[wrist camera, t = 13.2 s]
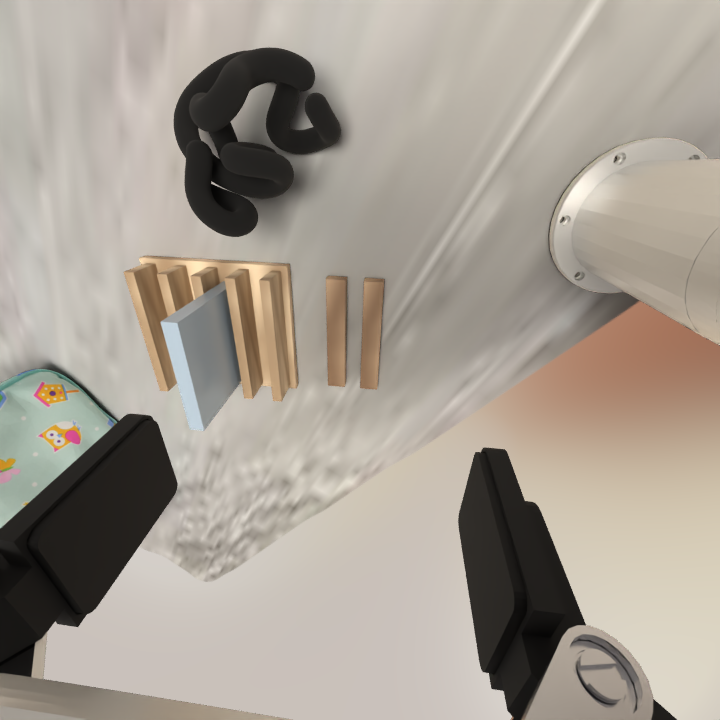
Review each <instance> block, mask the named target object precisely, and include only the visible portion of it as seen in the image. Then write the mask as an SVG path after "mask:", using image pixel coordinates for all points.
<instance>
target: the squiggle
mask: <svg viewBox="0 0 720 720" xmlns="http://www.w3.org/2000/svg"><path fill="white" fill-rule="evenodd" d="M314 81H315V73H314V69H313V67H312V65H311V64H310V63H309V62H308V61H307V60H306V59H304V58H303V57H301V56H299V55H297V54H295V53H293V52H291V51H288V50H284V49H279V48H260V49H255V50H249V51H241V52H237V53H233V54H230V55H227V56H225V57H223V58H221V59H219V60H217V61H216V62H214V63H213V64H211V65H210V66H208V67H207V68H206V69H204V70H203V71H202V72H201V73H200V74H199V75H197V76H196V77H195V78H194V79H193V80H192V81H191V82H190V84H189V85H188V86H187V87H186V88H185V90H184V91H183V93H182V94H181V96H180V98H179V100H178V103H177V105H176V108H175V113H174V131H175V136H176V140H177V143H178V145H179V147H180V149H181V151H182V153H183V155H184V156H185V157H186V167H185V191H186V196H187V199H188V202H189V204H190V206H191V208H192V210H193V211H194V213H195V214H196V216H197V217H198V218H199V219H200V220H201V221H202V222H203V223H204V224H205V225H207V226H208V227H209V228H211V229H212V230H214V231H216V232H218V233H220V234H223V235H226V236H231V237H239V236H243V235H246V234H248V233H250V232H251V231H252V230H253V229H254V228H255V226H256V225H257V222H258V213H257V210H256V208H255V206H254V205H253V204H252V203H251V202H250V201H249V200H248V199H246V198H244V197H243V196H246V197H251V198H260V199H264V198H272V197H276V196H278V195H281V194H282V193H284V192H285V191H286V190H287V189H288V188H289V187H290V186H291V184H292V182H293V178H294V171H293V168H292V165H291V164H290V162H289V161H288V160H287V159H286V158H284V157H283V156H281V155H279V154H277V153H276V152H275V151H274V150H273V149H271V148H270V147H267V146H264V145H260V144H255V143H247V142H238V140H237V137H236V135H235V132H234V130H233V127H232V125H231V123H230V122H231V121H232V119H233V118H234V117H235V116H236V115H237V113H238V112H239V111H240V109H241V108H242V106H243V104H244V102H245V100H246V98H247V95H248V93H249V91H250V90H251V89H253V88H254V87H256V86H258V85H261V84H263V83H267V82H275V83H276V84H277V86H276V90H275V93H274V96H273V98H272V101H271V104H270V107H269V110H268V113H267V118H266V129H267V133H268V136H269V138H270V140H271V141H272V142H273V143H274V144H275V145H276V146H277V147H278V148H280V149H282V150H284V151H286V152H290V153H295V154H306V153H312V152H316V151H319V150H322V149H324V148H327V147H329V146H331V145H333V144H334V143H336V142H337V141H338V139H339V137H340V134H341V128H340V124H339V122H338V120H337V118H336V117H335V115H334V113H333V111H332V110H331V108H330V106H329V104H328V102H327V100H326V98H325V97H324V96H323V95H322V94H319V93H312V94H311V95H309V96H308V97H307V99H306V102H305V112H306V114H307V116H308V118H309V120H310V121H311V123H312V125H313V126H314V127H312V128H309V129H306V130H293V129H290V128H288V127H289V123H290V121H291V118H292V115H293V113H294V110H295V108H296V105H297V102H298V98H299V93H300V91H307V90H309V89H310V88H311V87H312V86H313V84H314ZM198 127H199V128H200V129H202V130H204V131H207V132H209V134H210V136H211V138H212V140H213V142H214V144H215V147H216V149H217V152H218V155H219V158H217V157H216V156H215V155H213V154H212V151H211V149H210V148H209V146H208V145H207V144H206V143H204V142H203V141H201V139H200V136H199V131H198ZM211 181H212V182H214V183H216V184H217V185H219V186H221V187H223V188H225V189H227V190H229V191H227V190H224V189H222V188H219V187H217V186H215V185H212V184H211ZM230 191H232V192H230ZM233 192H234V193H233ZM236 193H237V194H236ZM238 194H240V195H238ZM241 195H243V196H241Z"/></svg>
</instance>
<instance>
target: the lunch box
mask: <svg viewBox="0 0 720 720" xmlns="http://www.w3.org/2000/svg"><path fill="white" fill-rule="evenodd" d="M116 423H118V422H117V421H116V420H114V419H113V418H112V417H110V416H109V415H108V414H107V413H105V412H104V411H103V410H102V409H101V408H100V407H99V406H98V405H97V404H96V403H95V402H94V401H93V400H92V399H91V398H90V397H89V396H88V395H87V394H86V393H85V392H84V391H83V390H82V389H81V388H80V387H79V386H78V385H76V384H75V383H74V382H73V381H71V380H70V379H68V378H67V377H65V376H64V375H62V374H60V373H58V372H54V371H51V370H46V369H34V370H29V371H26V372H23V373H21V374H18V375H16V376H14V377H12V378H10V379H8V380H6V381H4V382H2V383H0V528H1V527H2V526H4V525H5V524H6V523H7V522H8V521H9V520H10V519H11V518H12V517H13V516H15V515H16V514H17V513H18V512H19V511H20V510H21V509H22V508H23V507H25V506H26V505H27V504H28V503H29V502H30V501H31V500H32V499H33V498H35V497H36V496H37V495H38V494H39V493H40V492H41V491H42V490H43V489H44V488H46V487H47V486H48V485H49V484H50V483H51V482H52V481H53V480H54V479H56V478H57V477H58V476H59V475H60V474H61V473H62V472H63V471H64V470H66V469H67V468H68V467H69V466H70V465H71V464H72V463H73V462H74V461H76V460H77V459H78V458H79V457H80V456H81V455H82V454H83V453H84V452H85V451H87V450H88V449H89V448H90V447H91V446H92V445H93V444H94V443H95V442H97V441H98V440H99V439H100V438H101V437H102V436H103V435H104V434H105V433H107V432H108V431H109V430H110V429H111V428H112V427H113V426H114V425H115V424H116Z"/></svg>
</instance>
